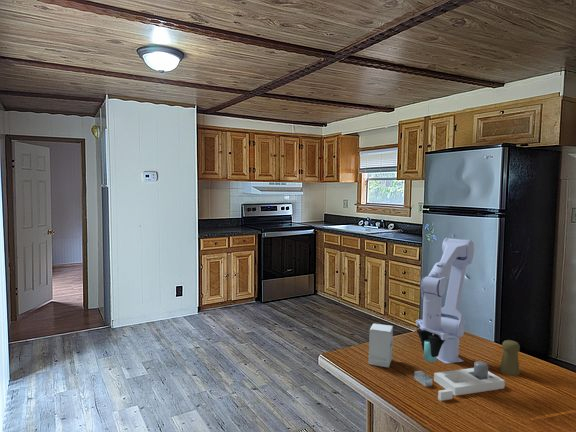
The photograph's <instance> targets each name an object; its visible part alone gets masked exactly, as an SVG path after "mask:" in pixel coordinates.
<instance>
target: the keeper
mask: <svg viewBox="0 0 576 432" xmlns="http://www.w3.org/2000/svg"><path fill="white" fill-rule="evenodd" d="M437 399H438V402H439V403H442V401H448V400H453V399H454V398H453V391H452V390H451V389H441V390H438V391H437Z"/></svg>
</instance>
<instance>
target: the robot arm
mask: <svg viewBox="0 0 576 432" xmlns="http://www.w3.org/2000/svg"><path fill="white" fill-rule="evenodd" d="M441 245H442V246H441V249H442V256H441V258H440V260H439V262H436V263H435V264H433V267H432V268H431V270H430V272H429V273H428V275H427V276H424V277H422V279H421V282H420V292H421V299H422V319H416V320H415V326H417V327H419V328H418V329H416V333H417V334H418V337H419V339H420V343H421V346H422V351H423V352H424V340H427V339H429V341H430V345H431V356H432V357H437V359H438V360H439V361H441V362H442V363H443V364H453V363H459V362H460V363H461V362H464V360H463V359H462V358H460V357H459V353H460V352H459V351H460V338H462V337H463V336H464V334H465V331H466V316H465V315H464V314H463V313H462V312H461V310H459V308H460V303H461V297H462V293H463V292H462V291H463V285H464V281H465V273H466V270H467V266H469V265H470V264H472V262H473V258H474V252H475V243H474V241H473V239H461V238H460V239H459V238H450V237H445V238H444V239H443V241H442V244H441ZM448 278H449V281H448V286H447V280H448ZM446 286H447V289H446ZM446 290H447V291H446ZM445 293H446V297H445V301H444V306H442V303H443V301H442V300H443V296H444V294H445Z"/></svg>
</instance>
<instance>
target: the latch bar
mask: <svg viewBox="0 0 576 432" xmlns="http://www.w3.org/2000/svg"><path fill="white" fill-rule="evenodd" d="M413 375H414V376H413V379H415V380H416V381H417V382H419V383H420V384H421V385H422V386H424V387H426V388H429V387H433V378H432V376H431V377H430V375H428V374H426V373H425V372H424V371H422V370H416V371H414V373H413Z"/></svg>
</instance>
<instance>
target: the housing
mask: <svg viewBox="0 0 576 432" xmlns="http://www.w3.org/2000/svg"><path fill="white" fill-rule="evenodd" d="M433 381H434V382H435V383H436V384H438V385H439V386H441V387H442V388H444V390H446V389H451V390H452V391H453V395H454V396H463V395H470V394H475V393H481V392H482V393H483V392H488V391H496V390H500V389H501V390H503V389H505V381H506V380H505V379H503V378H501V377H499V376H498V375H496V374H494V373H492V372H491V371H489V370H488V379H483V380H479V379H478V378H476V377H474V367H470V368H463V369H462V368H461V369H454V370H446V371H439V372H433Z"/></svg>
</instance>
